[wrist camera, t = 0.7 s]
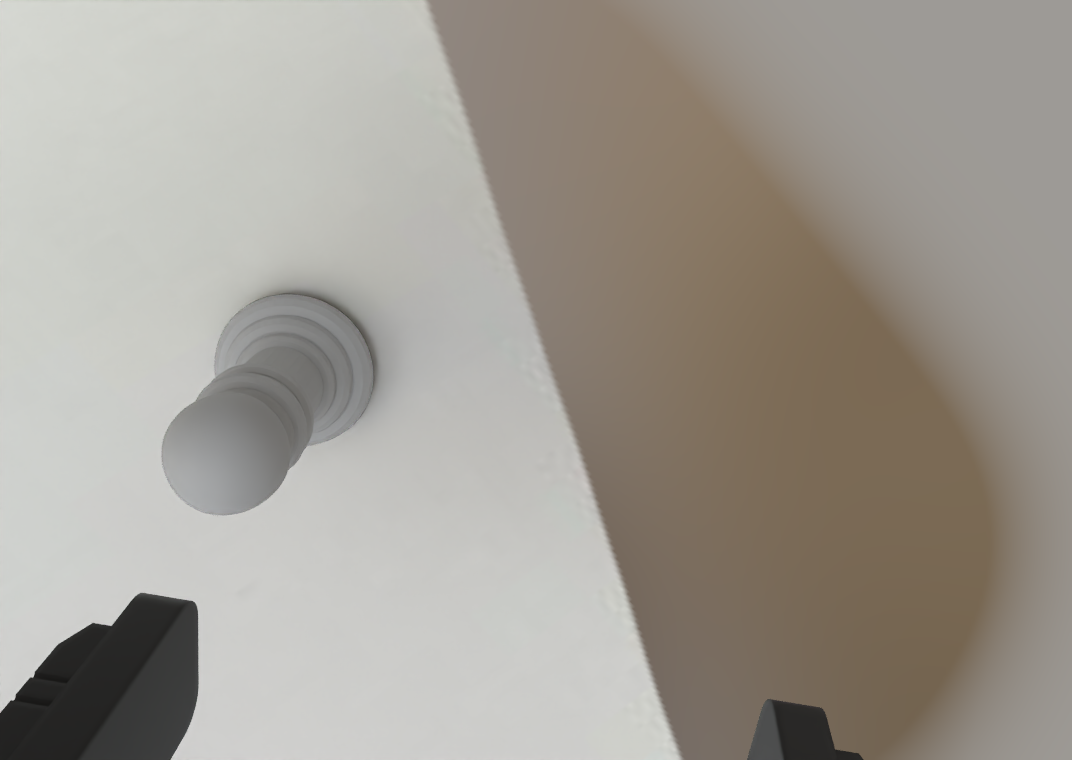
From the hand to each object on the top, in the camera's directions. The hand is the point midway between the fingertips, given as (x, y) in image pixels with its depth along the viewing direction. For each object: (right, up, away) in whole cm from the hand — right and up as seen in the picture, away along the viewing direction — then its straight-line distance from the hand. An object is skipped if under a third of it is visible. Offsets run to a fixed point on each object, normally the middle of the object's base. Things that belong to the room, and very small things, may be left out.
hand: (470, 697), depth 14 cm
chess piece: (-7, +5, +20) cm, 22 cm away
